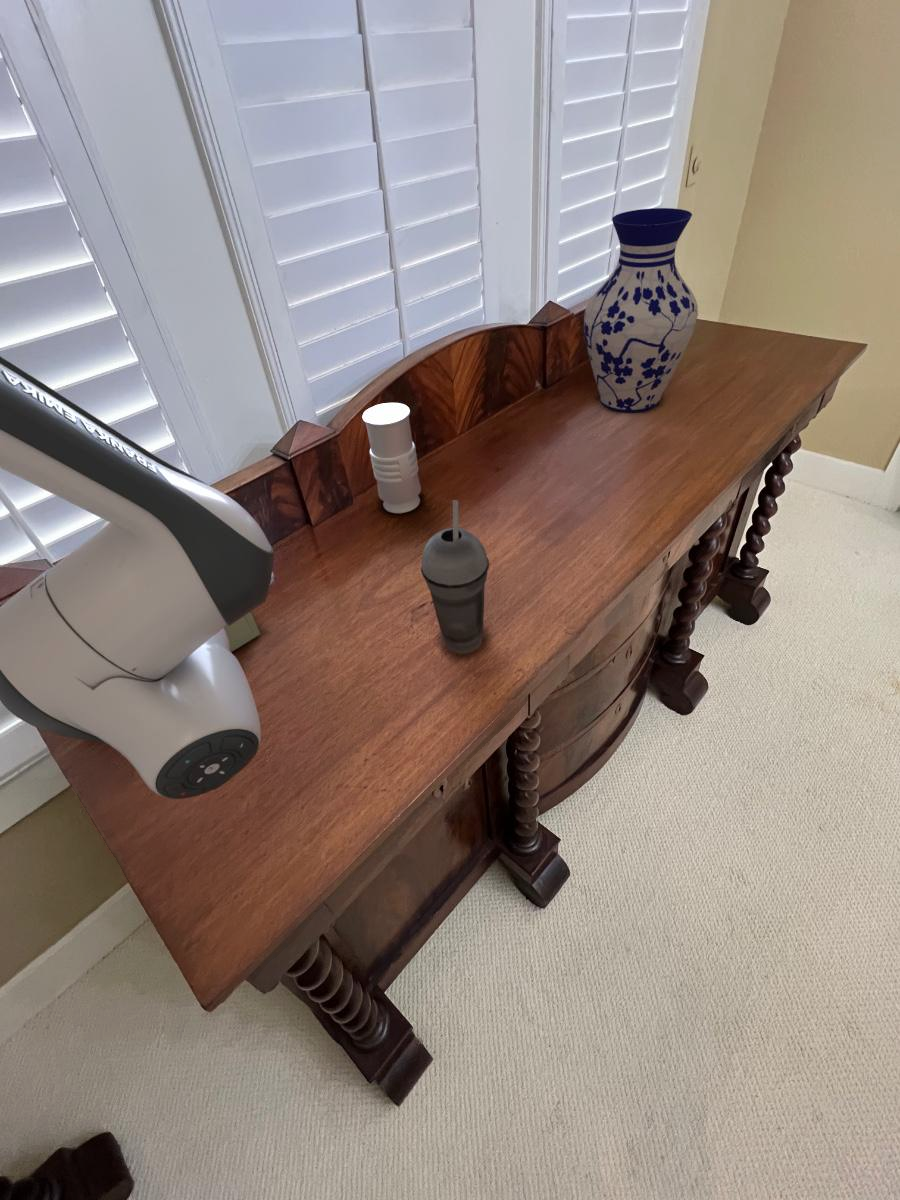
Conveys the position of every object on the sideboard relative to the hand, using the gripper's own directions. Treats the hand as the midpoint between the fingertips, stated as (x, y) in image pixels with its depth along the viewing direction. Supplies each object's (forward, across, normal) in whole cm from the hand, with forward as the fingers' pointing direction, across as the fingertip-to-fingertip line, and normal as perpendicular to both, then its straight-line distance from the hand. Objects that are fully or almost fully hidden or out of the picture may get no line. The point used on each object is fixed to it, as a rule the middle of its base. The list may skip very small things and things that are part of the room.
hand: (139, 555), depth 59 cm
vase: (+19, -87, +17) cm, 91 cm away
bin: (+6, 0, +17) cm, 18 cm away
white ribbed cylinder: (+16, -36, +17) cm, 43 cm away
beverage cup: (-15, -28, +17) cm, 36 cm away
